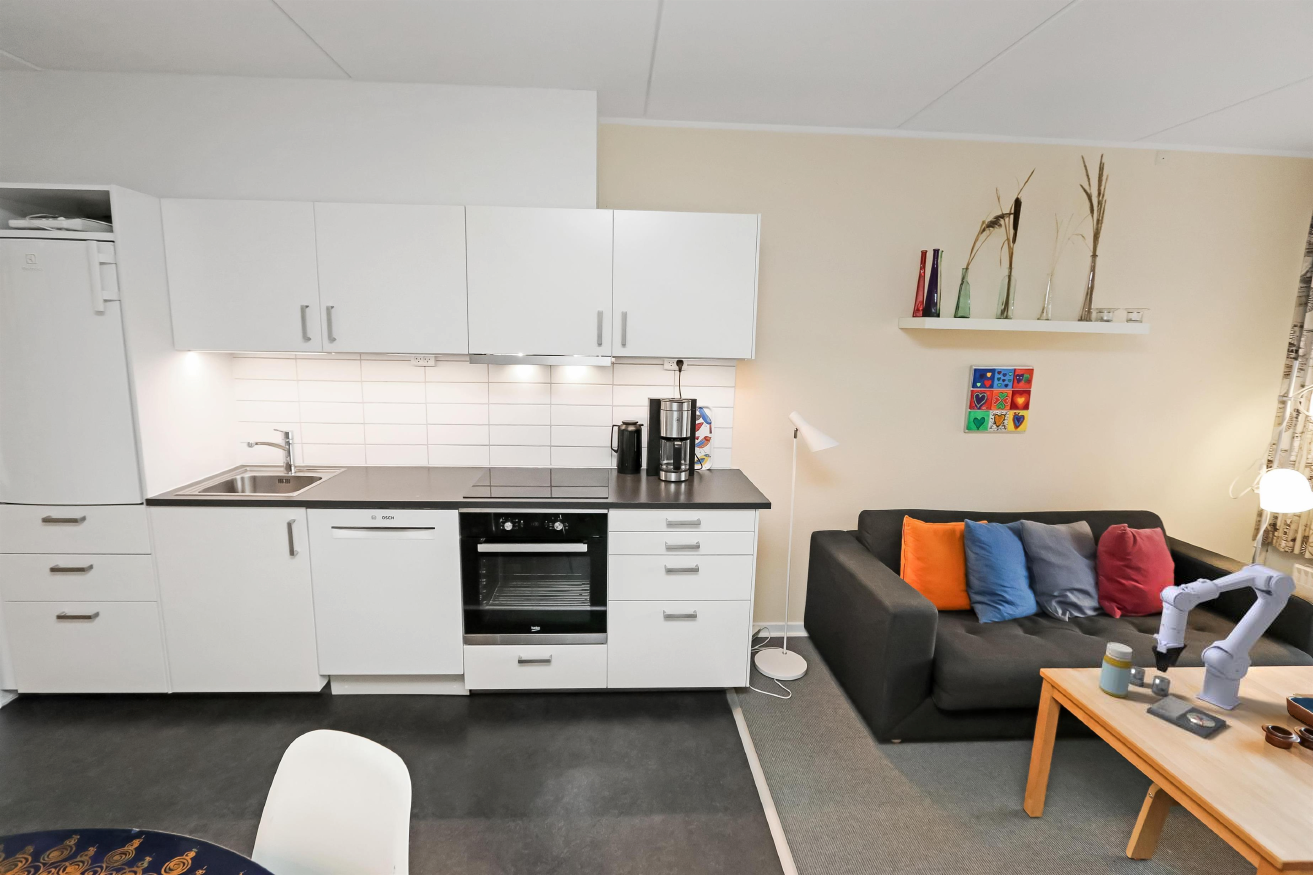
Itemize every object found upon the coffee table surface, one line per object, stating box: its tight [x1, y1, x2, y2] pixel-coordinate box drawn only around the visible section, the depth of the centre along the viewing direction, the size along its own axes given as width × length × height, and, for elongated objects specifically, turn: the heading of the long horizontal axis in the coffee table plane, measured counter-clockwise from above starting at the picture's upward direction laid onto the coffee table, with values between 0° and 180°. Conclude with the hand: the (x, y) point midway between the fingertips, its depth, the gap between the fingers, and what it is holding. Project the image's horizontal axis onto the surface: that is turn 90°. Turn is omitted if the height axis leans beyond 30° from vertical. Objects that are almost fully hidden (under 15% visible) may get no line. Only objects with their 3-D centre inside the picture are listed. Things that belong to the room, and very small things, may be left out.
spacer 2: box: [1151, 674, 1171, 698], centre depth 187 cm, size 4×4×5 cm
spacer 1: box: [1129, 665, 1146, 688], centre depth 193 cm, size 4×4×5 cm
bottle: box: [1098, 641, 1133, 699], centre depth 186 cm, size 7×7×15 cm
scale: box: [1146, 695, 1227, 739], centre depth 175 cm, size 14×14×2 cm
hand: (1165, 667), depth 185 cm, fingers open, 7 cm apart
